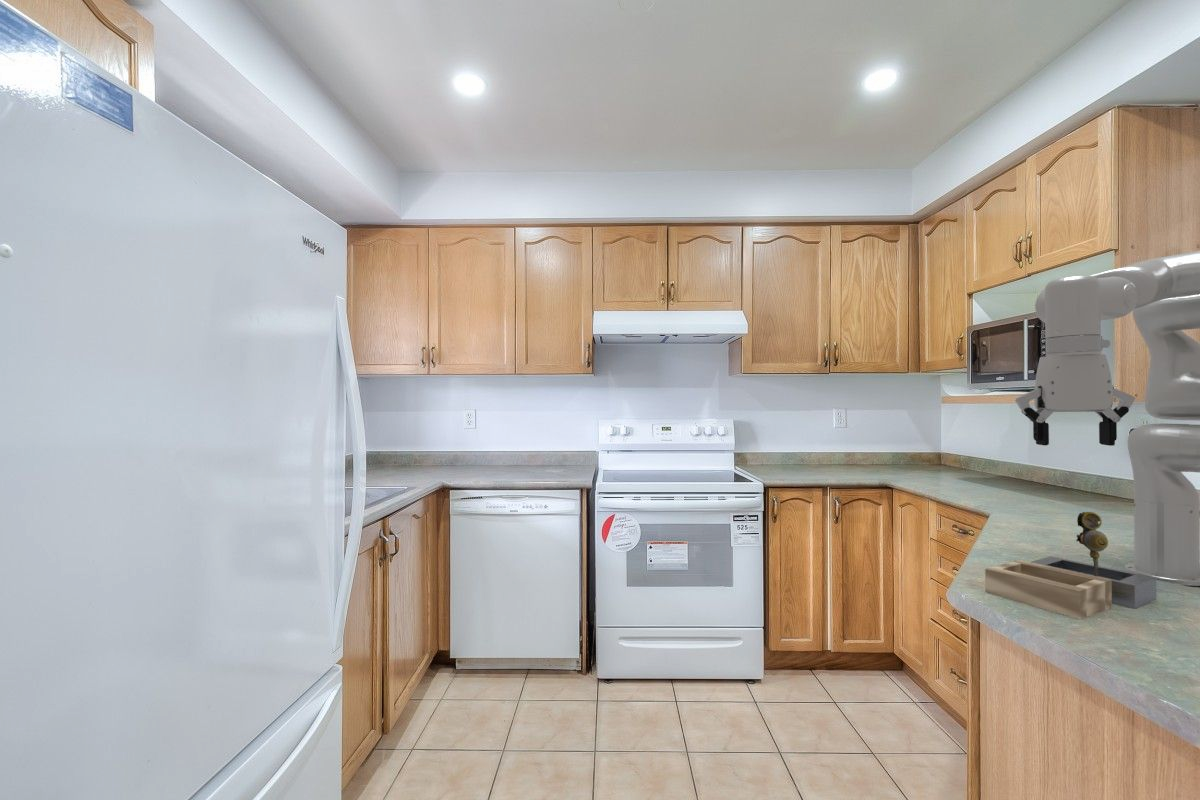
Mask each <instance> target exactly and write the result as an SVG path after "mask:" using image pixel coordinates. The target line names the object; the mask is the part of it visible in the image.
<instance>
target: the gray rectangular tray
mask: <svg viewBox="0 0 1200 800" xmlns="http://www.w3.org/2000/svg"><path fill="white" fill-rule="evenodd" d="M1030 562H1031V563H1036V564H1040V565H1045V566H1050V567H1055V568H1059V569H1064V570H1069V571H1073V572H1078V573H1083V574H1087V575H1092V576H1095V569H1094V564H1092V563H1091V564H1090V563H1086V562H1082V561H1075V560H1071V559H1065V558H1061V557H1057V556H1051V555H1050V556H1047V557H1042V558H1039V559H1036V560H1033V561H1030ZM1097 577H1101V578H1106V579H1111V584H1112V604H1114V605H1118V606H1121V607H1126V608H1129V609H1134V610H1136V609H1138V608H1141V607H1143V606H1145V605H1148V604H1149V603H1152V602H1154V601H1156V600H1157V580H1156V577H1152V576H1147V575H1142V574H1137V573H1132V572H1127V571H1125V570H1123V569H1122V570H1121V569H1117V568H1112V567H1107V566H1101V565H1098V569H1097Z"/></svg>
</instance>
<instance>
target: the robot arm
mask: <svg viewBox="0 0 1200 800" xmlns="http://www.w3.org/2000/svg"><path fill="white" fill-rule="evenodd" d="M1034 305H1035V306H1034V308H1035V310H1034V311H1035V313H1036V316H1037V317H1038V319H1039V320H1040V321H1041V322H1042V323H1045V324H1044V325H1045V326H1044V327H1045V330H1044V331H1045V356H1040V357H1039V361H1038V364H1037V370H1036V376H1035V384H1034V389H1033V390H1031V391H1029V392H1026V393H1025V394H1022V395H1020V396H1017V397H1016V398H1015V403H1016V404H1017V406H1018V407H1019V409H1020V410H1021V413H1022V414H1023V415H1024V416H1025V417H1027V419H1029V421H1030V422H1031V423H1033V424H1032V429H1033V432H1032V434H1033V435H1032V437H1033V440H1034V441H1035V444H1036V445H1040V446H1048V445H1049V444H1050V432H1049V431H1050V430H1049V429H1050V425H1049V423H1048V422H1046V420H1048V419H1049V417H1051V415H1053V413H1054V412H1055V413H1077V412H1079V413H1080V412H1081V413H1082V412H1084V413H1085V412H1087V413H1088V412H1089V413H1091V412H1092V413H1093V412H1094V413H1095V414H1097V416H1099V417H1100V419H1102V421H1099V423H1098V434H1099V435H1098V437H1099V438H1098V439H1099V442H1098V443H1099V444H1100V445H1102V446H1103V445H1104V446H1110V447H1111V446H1112V447H1113V446H1115V445H1116V441H1117V438H1118V435H1117V434H1118V429H1117V428H1118V427H1117V426H1118V424H1117V423H1119V422H1120V421H1121V420H1122V418H1123V417H1124V416H1125V415H1126V414H1128V413H1129V410H1130V408H1131V407H1132V405H1133V403H1134V402H1135V400H1136V398H1135V396H1134V395H1132V394H1129V393H1126V392H1124V391H1121V390H1119V389H1117V388H1114V387H1113V382H1112V381H1113V380H1112V379H1113V378H1112V375H1111V369H1110V365H1109V361H1108V358H1107V355H1106V354H1105V353H1102V351H1103V349H1107V348H1109V347H1110V345H1111V341H1110V340H1109V339H1103V335H1102V328H1101V327H1102V325H1101V323H1102V321H1107V320H1115V319H1119V318H1120V319H1121V318H1123V317H1125V316H1127V315H1128V314H1131V312H1132V317H1133V320H1134V323H1135V325H1136V327H1137V330H1138V331H1139V333H1140V336H1141V337H1142V338H1143V341H1144V342H1145V344H1146V346H1147V350H1148V351H1149V355H1150V361H1149V369H1148V375H1147V382H1146V389H1145V395H1144V409H1145V410H1146V412H1147V414H1148V415H1149V416H1152V417H1153V418H1156V419H1160V420H1169V421H1170V420H1172V421H1173V420H1174V421H1200V343H1199V342H1198V341H1196V339H1194V338H1192V337H1191V336H1189V335H1188V334H1186V333H1185V331H1186V330H1197V329H1200V250H1196V251H1190V252H1184V253H1179V254H1172V255H1167V256H1161V257H1155V258H1150V259H1146V260H1142V261H1138V262H1135V263H1132V264H1129V265H1125V266H1121V267H1118V268H1114V269H1113V268H1112V269H1110V270H1106V271H1103V272H1102V271H1101V272H1099V273H1095V274H1092V275H1087V274H1086V275H1084V274H1083V275H1082V274H1081V275H1072V276H1063V277H1058V278H1055V279H1052V280H1050V281H1049V282H1047V284H1046V285H1045V288H1043V289H1042V290H1041V291H1040V292H1039V294H1038V295H1037V297H1036V300H1035V304H1034ZM1184 330H1185V331H1184ZM1114 399H1116V400H1118V405H1117V406H1116V407H1115V408H1113V409H1112V407H1113V405H1114V404H1113V402H1114ZM1033 400H1034V401H1033ZM1031 401H1033V402H1034V407H1035V409H1036V410H1035V409H1033V407H1031V405H1030V402H1031ZM1127 449H1128V450H1127V451H1128V455H1129V459H1130V463H1131V468H1132V475H1133V510H1134V511H1133V514H1134V515H1133V517H1134V518H1133V523H1134V524H1133V525H1134V527H1133V528H1134V533H1133V534H1134V535H1133V536H1134V539H1133V540H1134V546H1133V547H1134V562H1132V563H1125V564H1124V571H1127V572H1132V573H1137V574H1142V575H1147V576H1152V577H1156V581H1160V582H1165V583H1170V584H1175V585H1180V586H1188V587H1189V586H1190V587H1200V495H1199V492H1198V490H1197V488H1196V487H1195V485H1194V484H1193V483H1192V482H1191V481H1190V480H1189V479H1188V478H1187V477H1186V475H1185V474H1183V473H1184V472H1185V473H1200V424H1188V423H1149V424H1144V425H1143V424H1142V425H1139V426H1137V427H1135V428H1134V429H1133V430H1131V431H1130V432H1129V434H1128V436H1127Z"/></svg>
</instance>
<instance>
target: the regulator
mask: <svg viewBox="0 0 1200 800" xmlns="http://www.w3.org/2000/svg"><path fill="white" fill-rule="evenodd" d="M1076 520H1077V526H1078V527H1081V528H1082V532H1080V533H1079V534H1076V538H1077V539H1076V542H1079V544H1081V545H1082V546H1084V547H1085V548H1086V549H1088V550H1089V558H1092V562H1093V565H1094V569H1095V576H1097V569H1098V566H1099V558H1100V557H1101V556H1100V552H1102V551H1104V550H1105V549H1107V547H1108V545H1109V540H1108V537H1107V536H1106V535H1105V533H1103V532H1102V531H1099V530H1098V529H1099V528H1100V527H1101V526H1102V517H1101V516H1100V515H1099V514H1097V513H1096V512H1092V511H1082V512H1079V514H1078V516H1077V519H1076Z"/></svg>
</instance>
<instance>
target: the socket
mask: <svg viewBox="0 0 1200 800" xmlns="http://www.w3.org/2000/svg"><path fill="white" fill-rule="evenodd" d="M1031 562H1032V561H1026V560H1021V559H1017V560H1014V561H1009V562H1006V563H1002V564H1000V565H998V564H997V565H995V566H991V567H988V568H985V569H984V572H985V573H984V574H985V576H984V577H985V581H984V582H985V589H984V590H985V593H988V594H992V595H996V596H997V597H1002V598H1005V599H1009V600H1011V599H1012V601H1015V602H1019V603H1021V604H1026V605H1029V606H1033V607H1035V606H1036V608H1039V609H1042V610H1045V609H1046V610H1047V611H1049V610H1050V612H1052V611H1053V613H1056V612H1057V613H1056V614H1059V613H1061V615H1062V614H1064V615H1063V616H1066V615H1068V616H1067V617H1069V616H1070V617H1069V618H1073V617H1074V618H1073V619H1077V620H1082V619H1085V618H1088V617H1091V616H1093V615H1096V614H1099V613H1102V612H1104V611H1108V610H1110V609H1112V604H1113V603H1112V584H1111V579H1106V578H1101V577H1097V576H1092V575H1087V574H1083V573H1078V572H1073V571H1069V570H1064V569H1059V568H1055V567H1050V566H1045V565H1040V564H1036V563H1031Z"/></svg>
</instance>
